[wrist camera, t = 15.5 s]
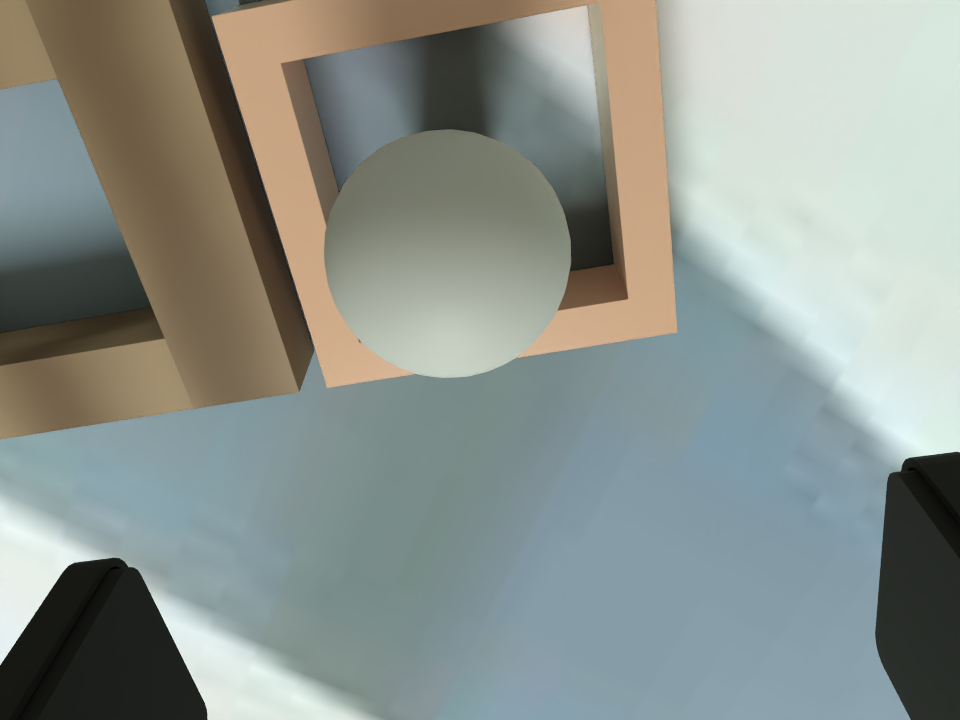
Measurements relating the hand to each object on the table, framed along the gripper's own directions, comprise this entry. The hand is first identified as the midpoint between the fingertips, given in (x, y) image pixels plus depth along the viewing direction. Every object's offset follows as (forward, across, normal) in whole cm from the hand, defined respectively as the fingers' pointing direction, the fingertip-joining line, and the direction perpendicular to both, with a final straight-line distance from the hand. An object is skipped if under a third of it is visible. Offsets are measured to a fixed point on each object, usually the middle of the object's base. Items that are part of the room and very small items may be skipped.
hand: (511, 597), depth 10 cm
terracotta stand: (+19, +1, -1) cm, 19 cm away
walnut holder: (+19, +16, -2) cm, 25 cm away
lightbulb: (+20, +2, 0) cm, 20 cm away
